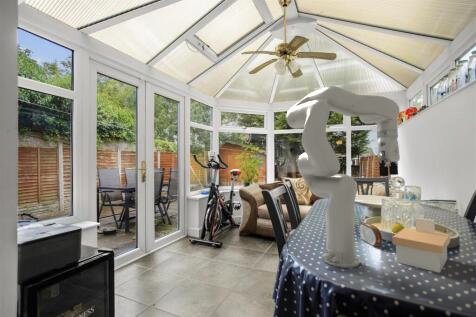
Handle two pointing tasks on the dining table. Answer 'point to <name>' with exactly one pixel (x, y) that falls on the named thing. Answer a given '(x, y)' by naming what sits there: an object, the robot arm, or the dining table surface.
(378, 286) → the dining table surface
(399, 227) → the lemon
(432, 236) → the lid
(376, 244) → the tin
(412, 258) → the tub
